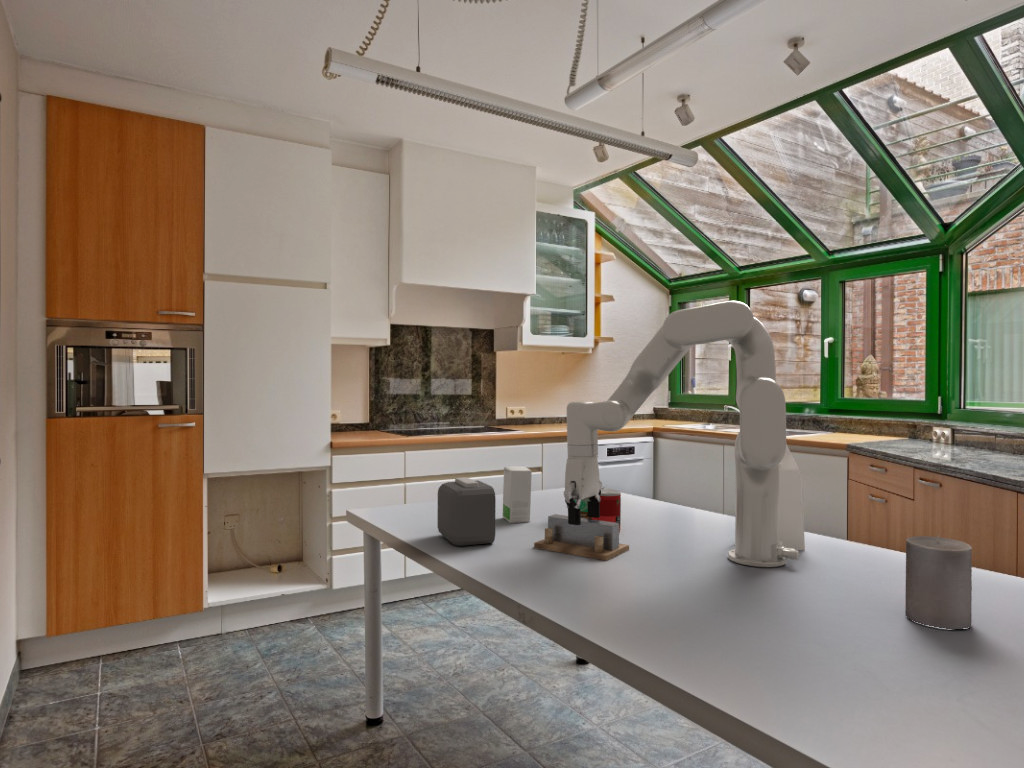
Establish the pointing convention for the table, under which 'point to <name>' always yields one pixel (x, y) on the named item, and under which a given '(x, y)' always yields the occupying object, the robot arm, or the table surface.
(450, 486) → the alarm clock
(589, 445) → the robot arm
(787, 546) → the milk
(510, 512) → the skincare box
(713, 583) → the table surface
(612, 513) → the canned food
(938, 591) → the pillar candle
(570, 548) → the rack
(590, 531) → the steel bar
